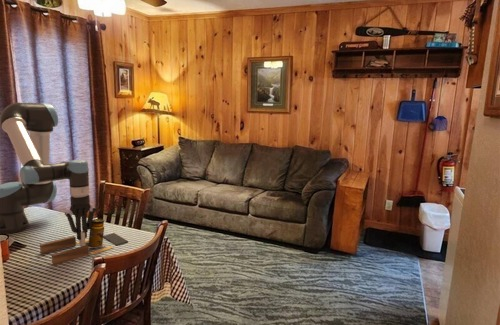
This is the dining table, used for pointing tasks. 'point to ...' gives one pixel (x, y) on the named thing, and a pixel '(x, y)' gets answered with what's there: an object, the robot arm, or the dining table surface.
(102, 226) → the condiment
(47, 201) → the robot arm
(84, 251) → the parallel wooden rails
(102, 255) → the dining table surface
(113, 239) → the mat
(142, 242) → the dining table surface
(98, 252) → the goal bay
